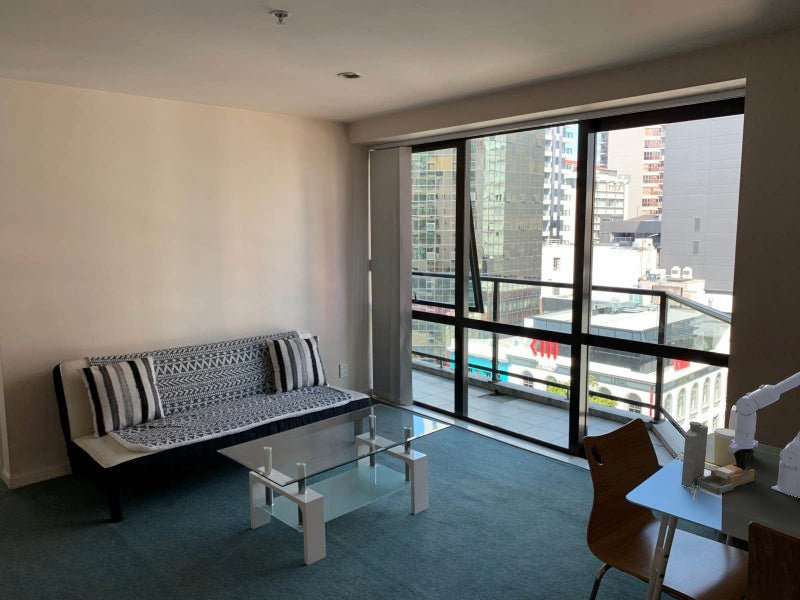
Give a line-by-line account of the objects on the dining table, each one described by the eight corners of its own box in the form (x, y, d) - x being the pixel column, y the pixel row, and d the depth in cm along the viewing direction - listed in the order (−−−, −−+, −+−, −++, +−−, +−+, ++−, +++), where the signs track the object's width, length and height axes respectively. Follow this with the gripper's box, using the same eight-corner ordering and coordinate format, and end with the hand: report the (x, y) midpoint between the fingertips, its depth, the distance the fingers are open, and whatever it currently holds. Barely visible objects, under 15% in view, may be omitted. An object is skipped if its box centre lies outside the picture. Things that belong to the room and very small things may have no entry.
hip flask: (690, 488, 195) (695, 429, 192) (677, 484, 198) (681, 426, 195) (705, 474, 206) (709, 419, 204) (692, 471, 209) (697, 416, 207)
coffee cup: (733, 459, 221) (736, 428, 220) (745, 469, 212) (748, 437, 211) (707, 458, 222) (709, 427, 221) (718, 467, 213) (720, 435, 212)
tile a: (741, 474, 201) (742, 468, 201) (735, 476, 199) (735, 471, 199) (730, 470, 204) (730, 464, 204) (723, 472, 202) (724, 466, 202)
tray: (733, 489, 195) (733, 483, 194) (718, 494, 191) (719, 488, 190) (709, 480, 201) (710, 474, 201) (695, 485, 197) (696, 479, 197)
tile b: (734, 476, 199) (734, 471, 198) (727, 479, 197) (727, 473, 196) (722, 472, 202) (723, 467, 202) (715, 474, 200) (716, 469, 200)
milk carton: (725, 455, 225) (730, 404, 223) (727, 448, 233) (731, 399, 231) (752, 460, 221) (757, 408, 218) (753, 453, 228) (758, 403, 226)
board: (754, 480, 202) (755, 470, 202) (730, 488, 195) (731, 477, 195) (733, 473, 208) (734, 462, 208) (709, 480, 201) (710, 470, 201)
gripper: (745, 424, 210) (741, 461, 211) (720, 430, 202) (717, 468, 204) (765, 430, 204) (761, 468, 205) (741, 436, 196) (737, 476, 198)
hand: (741, 469), depth 204 cm, fingers closed
